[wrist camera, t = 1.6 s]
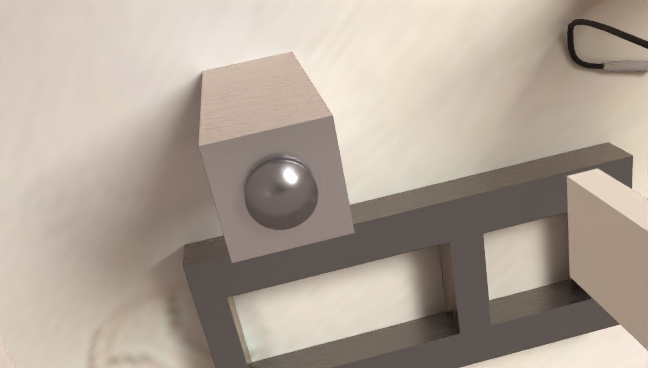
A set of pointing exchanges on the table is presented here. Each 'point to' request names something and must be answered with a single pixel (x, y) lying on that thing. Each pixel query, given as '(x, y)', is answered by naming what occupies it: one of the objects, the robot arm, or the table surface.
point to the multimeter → (608, 65)
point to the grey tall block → (271, 157)
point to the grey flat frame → (456, 262)
